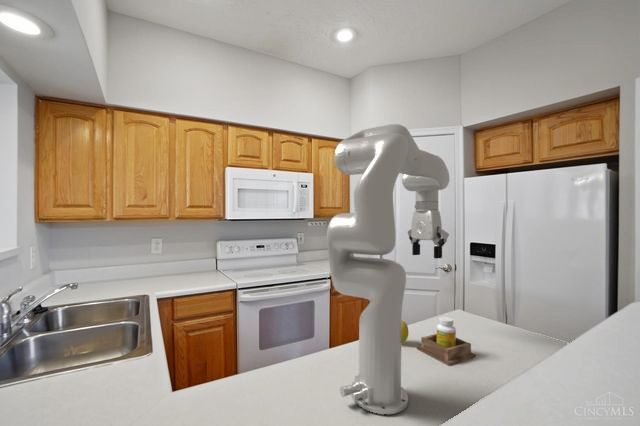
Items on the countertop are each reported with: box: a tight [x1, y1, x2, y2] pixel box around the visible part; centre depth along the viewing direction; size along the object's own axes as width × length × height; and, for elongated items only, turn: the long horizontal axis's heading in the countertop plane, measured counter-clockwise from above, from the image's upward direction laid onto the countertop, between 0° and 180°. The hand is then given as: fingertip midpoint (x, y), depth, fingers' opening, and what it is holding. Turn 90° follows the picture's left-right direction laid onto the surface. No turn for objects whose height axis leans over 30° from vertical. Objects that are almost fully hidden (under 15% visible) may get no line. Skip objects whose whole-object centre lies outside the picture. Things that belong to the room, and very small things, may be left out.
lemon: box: [401, 319, 409, 344], centre depth 97 cm, size 6×6×8 cm
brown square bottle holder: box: [416, 333, 477, 367], centre depth 91 cm, size 12×12×4 cm
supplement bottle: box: [436, 316, 457, 348], centre depth 91 cm, size 5×5×10 cm
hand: (426, 256), depth 102 cm, fingers open, 9 cm apart
